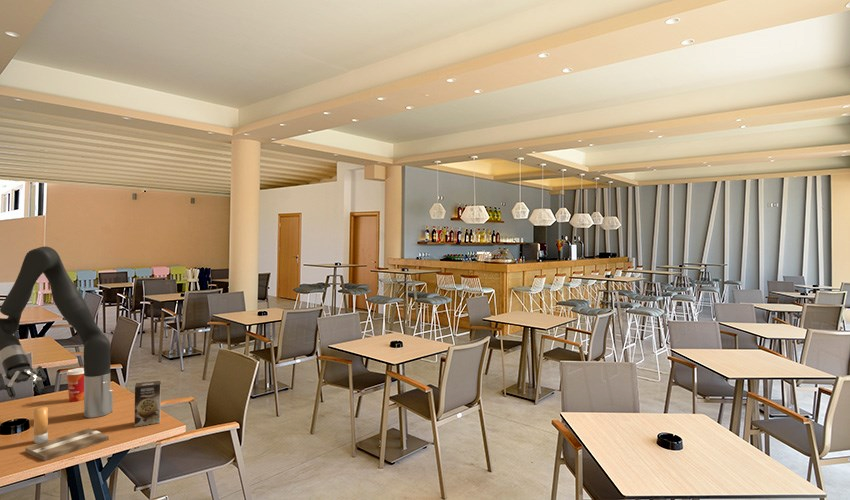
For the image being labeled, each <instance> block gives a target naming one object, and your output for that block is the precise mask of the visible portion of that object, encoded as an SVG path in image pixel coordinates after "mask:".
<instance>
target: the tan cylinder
mask: <svg viewBox="0 0 850 500" xmlns="http://www.w3.org/2000/svg"><path fill="white" fill-rule="evenodd" d="M46 441H49V408H48V407H47V406H41V407H37V408H34V409H33V443H34V444H39V443H42V442H46Z"/></svg>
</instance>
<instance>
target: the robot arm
mask: <svg viewBox="0 0 850 500" xmlns="http://www.w3.org/2000/svg"><path fill="white" fill-rule="evenodd" d="M41 275H44V276H45V277H46V279H47V281H48V284H49V286H50V287H49V288H50V292H51V296H52V300H53V303H54V305H55V307H56V309H57V310H58V311H59V313H60V314H61V316H62V317H63V318H64V320H65V321H66V322H67V323H68V324H69V325H70V326H71V327H72V328H73V329H74V330H75V332H77V335H78V336H79V339H80V340H81V342H82V345H83V368H84V399H83V400H84V402H83V406H84V407H83V416H84V417H85V418H98V417H99V418H100V417H103V416H106V415H108V414H110V413H113V411H114V409H113V407H114V405H113V404H114V403H113V402H114V401H113V398H114V397H113V396H114V395H113V394H114V393H113V391H114V390H113V389H111V342H110V340H109V338H108V337H107V336H106V335H105V333H104V332H103V331H102V330H101V329H100V327H99V326H98V324H97V323H96V322H95V319H94V317H93V314H92V312H91V311H90V308H89V306H88V305H87V302H86V300H85V299H84V298H83V296H82V294H81V293H80V291H79V290H78V289H77V286H76V285H75V283H74V281H73V280H72V279H71V277H70V276H69V274H68V272H67V269H66V268H65V266H64V263H63V262H62V259H61V257H60V255H59V253H58V252H57V251H56V250H55V249H54V248H52V247H50V246H40V247H36V248H33V249H31V250H29V251H28V252H27V253H26V255H25V256H24V259H23V261H22V264H21V267H20V270H19V272H18V275H17V278H16V279H15V282H14V284H13V285H12V287H11V289H10V291H9V293H8V294H7V296H6V297H5V299H4V301H3V302H2V304H1V306H0V313H1V314H2V315H4V316H6V317H7V318H4V317H3V318H1V317H0V363H1V366H2V368H3V370H4V372H5V373H3V374H2V373H0V391H3V390H5V391H6V393H7V395H8V397H9V398H11V399H13V398H15V397H16V391H15V389H14V387H13V385H14V383H16V384H18V383H22V382H23V383H24V382H27V381H28V382H30V383H34V384H35V385H36V388H37V390H38V392H39V393H41V392H43V391H44V389H45V385H44V383H43V382H45V381H46V379H47V374H46V372H45V371H44V368H43V366H41V365H39V366H37V367H35V368H33V367H31V363H30V361H29V359H28V356H27V354H26V352H25V350H24V348H23V346H22V344H21V341H20V339H19V337H18V336H17V335H15V334H16V333H17V332H18V330H19V328H20V322H21V318H22V314H23V313H24V312H23V311H24V310H25V308H26V306H27V305H28V303H29V301H30V299H31V297H32V293H33V291H34V286H35V285H36V283H37V281H38V279H39V278H40V277H41ZM5 379H7V380H8V384H5Z"/></svg>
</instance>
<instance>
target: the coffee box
mask: <svg viewBox="0 0 850 500" xmlns="http://www.w3.org/2000/svg"><path fill="white" fill-rule="evenodd" d="M161 384H162V382H161V380H155V381H152V380H151V381H143V382H135V386H134V424H133V425H134V427H135V428H137V427H143V425H144V426H149V424H151V425H156V424H155V423H158V424H160V423H161V399H162V398H161V396H162V395H161V393H162V391H161V386H162V385H161Z"/></svg>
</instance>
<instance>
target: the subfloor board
mask: <svg viewBox="0 0 850 500" xmlns="http://www.w3.org/2000/svg"><path fill="white" fill-rule="evenodd" d="M106 441H109V435H108V434H105V433H102V432H101V431H99V430H94V429H92V428H90V427H89V428H86V429H82V430H79V431H76V432H73V433H69V434H65V435H63V436H60V437H56V438H52V439H50V440H49V439H48V441H46V442H42V443H35V444H33V445H30V446H27V447H25V450H24V452H25V453H27V454H29V455H31V456H32V457H35V458H37V459H39V460H41V461H44V462H47V461H49V460H52V459H55V458H59V457H61V456H64V455H68V454H70V453H73V452H76V451H79V450H82V449H85V448H87V447H91V446H94V445H96V444H100V443H103V442H106Z"/></svg>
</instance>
